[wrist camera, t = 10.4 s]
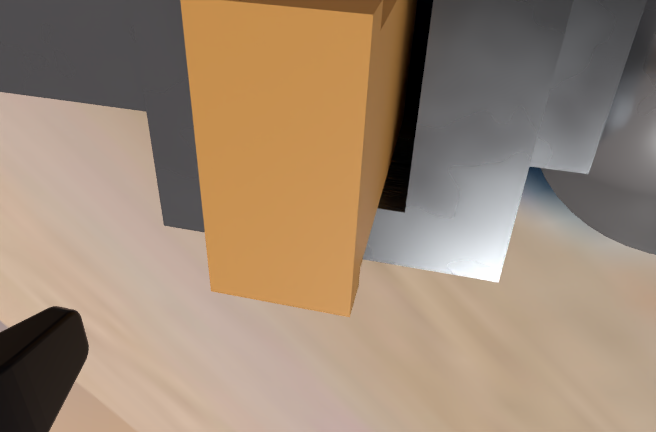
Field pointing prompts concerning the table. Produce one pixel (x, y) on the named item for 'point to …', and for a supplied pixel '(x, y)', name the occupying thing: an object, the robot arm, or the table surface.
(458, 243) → the ring lock bracket
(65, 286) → the table surface
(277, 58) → the tan stepped block
